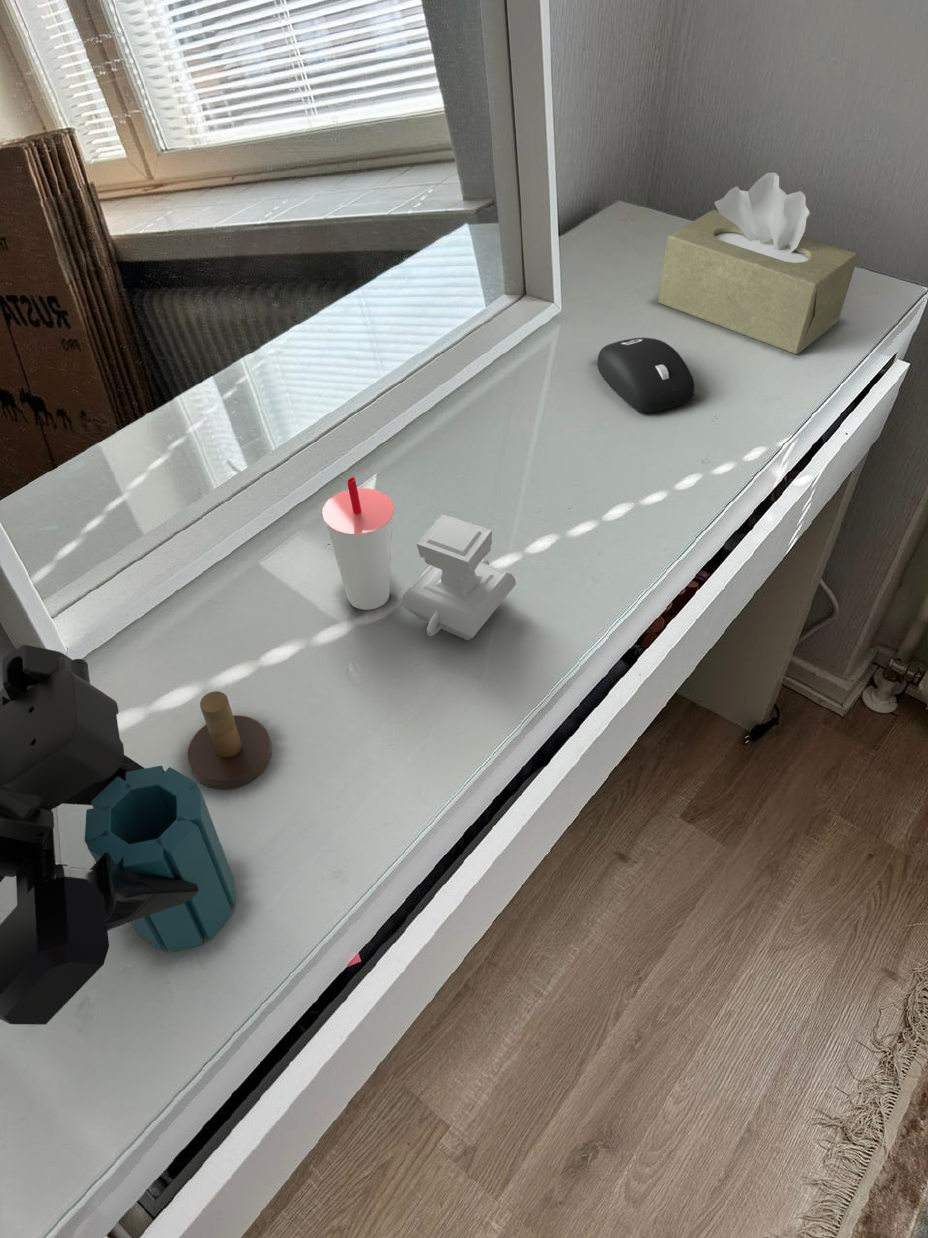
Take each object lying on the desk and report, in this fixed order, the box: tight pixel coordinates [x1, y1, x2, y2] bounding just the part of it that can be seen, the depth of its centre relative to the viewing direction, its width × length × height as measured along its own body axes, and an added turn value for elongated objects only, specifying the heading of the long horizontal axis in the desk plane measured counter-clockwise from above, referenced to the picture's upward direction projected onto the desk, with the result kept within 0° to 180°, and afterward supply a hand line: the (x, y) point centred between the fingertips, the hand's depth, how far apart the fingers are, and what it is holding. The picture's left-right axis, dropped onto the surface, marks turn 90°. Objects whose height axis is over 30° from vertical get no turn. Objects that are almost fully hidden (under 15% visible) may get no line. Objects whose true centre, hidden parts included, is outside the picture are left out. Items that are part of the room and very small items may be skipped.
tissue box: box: [657, 172, 859, 355], centre depth 101 cm, size 19×10×16 cm, turn 48°
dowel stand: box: [187, 690, 273, 790], centre depth 62 cm, size 6×6×6 cm
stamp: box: [399, 513, 517, 641], centre depth 70 cm, size 9×7×8 cm
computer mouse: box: [596, 337, 695, 414], centre depth 95 cm, size 8×12×4 cm, turn 24°
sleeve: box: [84, 765, 236, 953], centre depth 52 cm, size 6×6×10 cm
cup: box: [321, 476, 395, 611], centre depth 70 cm, size 5×5×12 cm
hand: (185, 844), depth 52 cm, fingers closed on sleeve, 6 cm apart
